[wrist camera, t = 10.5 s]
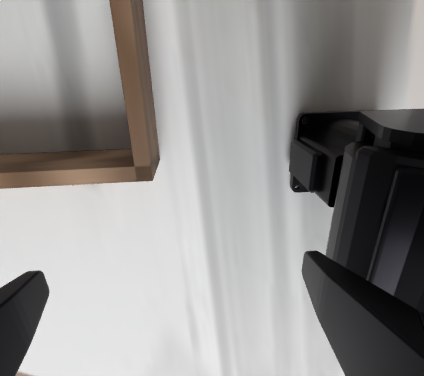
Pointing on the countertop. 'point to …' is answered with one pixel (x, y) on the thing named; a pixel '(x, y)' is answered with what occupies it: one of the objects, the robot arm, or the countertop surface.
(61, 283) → the countertop surface
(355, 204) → the robot arm
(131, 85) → the wooden u-shaped frame
